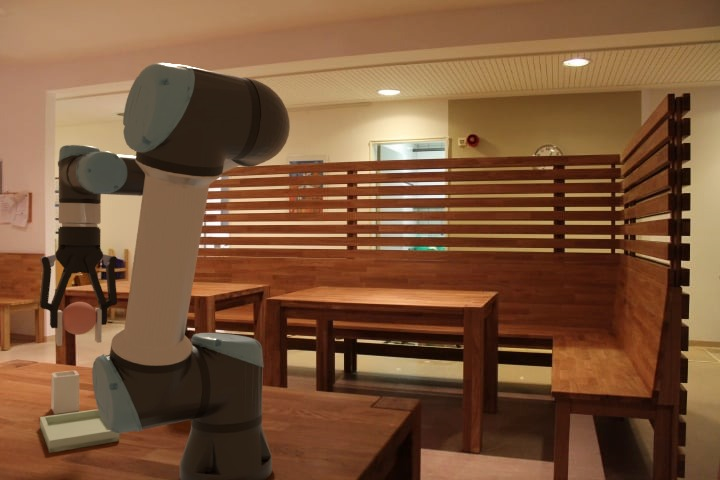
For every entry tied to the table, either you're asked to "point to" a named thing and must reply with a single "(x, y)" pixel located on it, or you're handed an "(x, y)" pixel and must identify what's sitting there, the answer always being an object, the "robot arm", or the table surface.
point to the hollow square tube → (65, 392)
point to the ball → (79, 318)
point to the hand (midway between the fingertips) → (78, 342)
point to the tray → (75, 430)
